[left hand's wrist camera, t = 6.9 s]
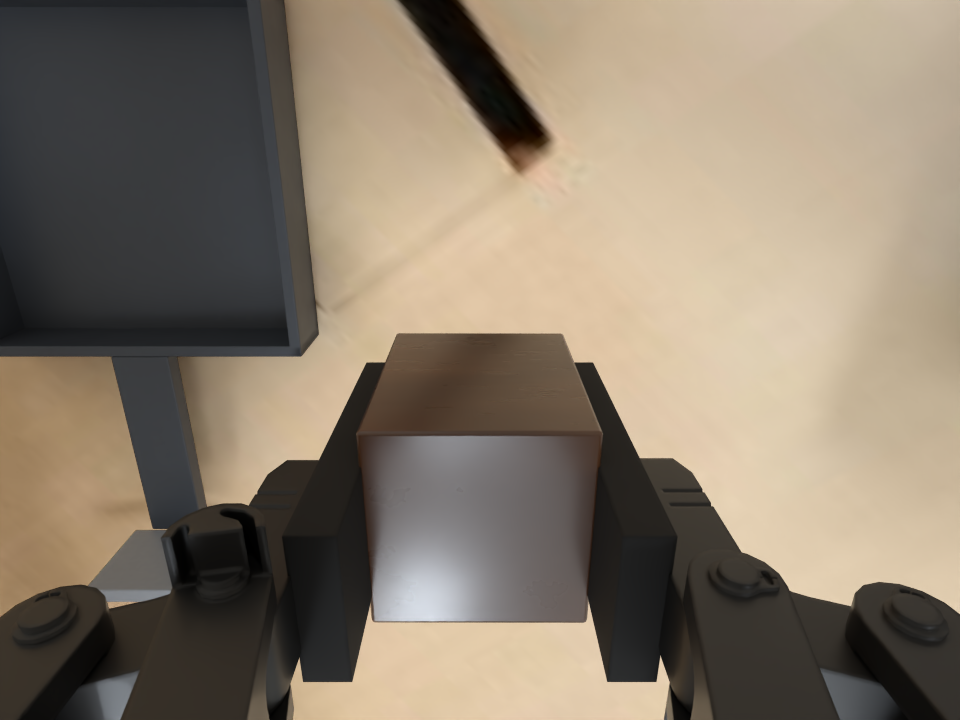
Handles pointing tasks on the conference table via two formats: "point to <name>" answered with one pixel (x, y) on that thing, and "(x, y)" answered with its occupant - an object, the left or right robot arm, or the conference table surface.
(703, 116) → the conference table surface
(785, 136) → the conference table surface
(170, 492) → the pan
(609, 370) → the conference table surface
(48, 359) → the conference table surface
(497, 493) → the walnut block
